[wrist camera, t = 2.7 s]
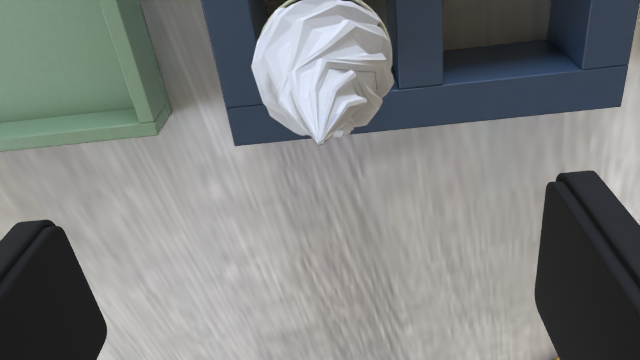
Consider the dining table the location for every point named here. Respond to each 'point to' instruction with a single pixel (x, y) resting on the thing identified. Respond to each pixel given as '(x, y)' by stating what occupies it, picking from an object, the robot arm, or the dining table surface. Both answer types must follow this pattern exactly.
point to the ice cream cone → (323, 66)
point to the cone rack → (446, 67)
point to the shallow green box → (77, 73)
